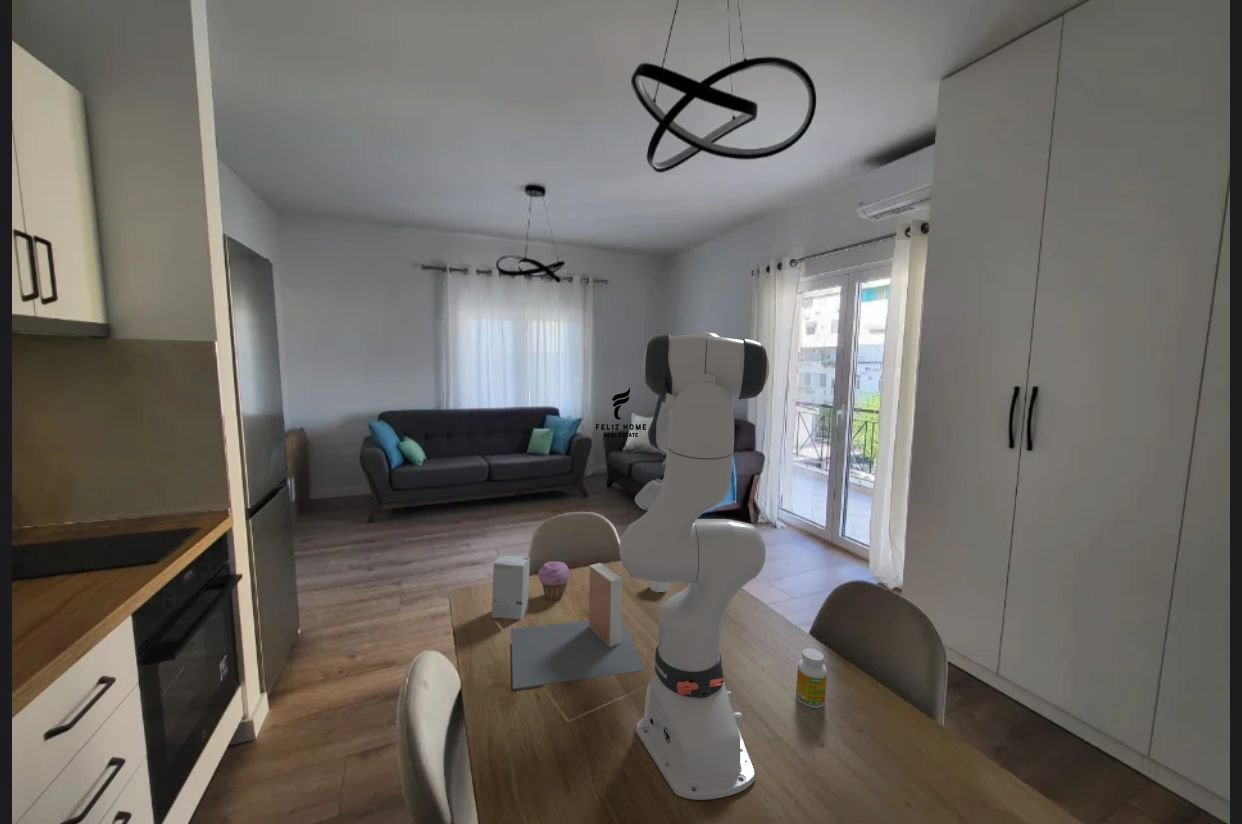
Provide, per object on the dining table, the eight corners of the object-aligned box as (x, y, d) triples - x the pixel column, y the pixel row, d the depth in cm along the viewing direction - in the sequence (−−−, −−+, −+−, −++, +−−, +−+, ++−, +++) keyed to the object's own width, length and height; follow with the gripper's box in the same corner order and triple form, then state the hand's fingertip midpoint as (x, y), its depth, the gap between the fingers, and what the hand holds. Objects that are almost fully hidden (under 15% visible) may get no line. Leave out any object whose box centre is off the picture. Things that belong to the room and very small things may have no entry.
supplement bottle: (807, 711, 92) (810, 664, 91) (790, 692, 98) (793, 648, 97) (830, 706, 94) (834, 660, 93) (812, 688, 99) (815, 644, 98)
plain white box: (599, 623, 121) (600, 562, 119) (620, 642, 113) (622, 578, 111) (588, 626, 119) (589, 565, 118) (609, 647, 111) (610, 581, 109)
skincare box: (491, 618, 123) (490, 563, 121) (499, 606, 129) (499, 553, 127) (522, 621, 122) (522, 565, 121) (530, 609, 128) (530, 555, 127)
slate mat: (645, 671, 103) (645, 670, 103) (512, 690, 97) (512, 688, 97) (621, 618, 124) (621, 616, 124) (511, 630, 118) (511, 628, 118)
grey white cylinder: (672, 594, 138) (672, 571, 137) (648, 593, 138) (649, 570, 137) (670, 583, 145) (670, 561, 144) (647, 582, 145) (648, 560, 144)
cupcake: (534, 592, 137) (534, 559, 136) (562, 586, 141) (563, 554, 140) (544, 607, 129) (544, 571, 128) (574, 600, 133) (574, 566, 132)
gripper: (648, 470, 132) (618, 510, 128) (699, 488, 115) (666, 534, 111) (660, 484, 135) (631, 523, 131) (712, 503, 118) (680, 549, 114)
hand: (647, 529), depth 120 cm, fingers closed
